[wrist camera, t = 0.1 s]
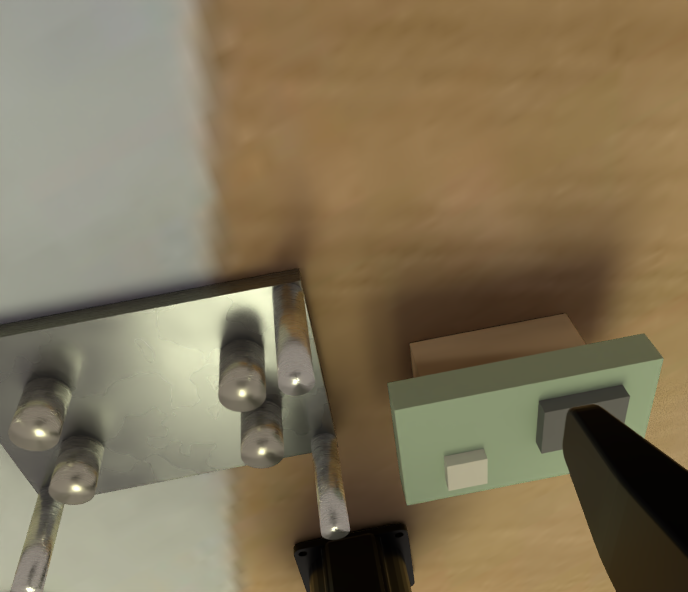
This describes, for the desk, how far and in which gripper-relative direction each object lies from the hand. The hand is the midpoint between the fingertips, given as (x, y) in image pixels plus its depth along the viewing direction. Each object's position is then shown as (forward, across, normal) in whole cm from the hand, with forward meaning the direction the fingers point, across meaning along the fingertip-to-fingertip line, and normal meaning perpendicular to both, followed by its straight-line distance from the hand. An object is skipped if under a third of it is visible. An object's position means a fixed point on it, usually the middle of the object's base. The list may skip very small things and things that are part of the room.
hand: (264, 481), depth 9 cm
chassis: (+15, +6, +12) cm, 20 cm away
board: (+11, -8, +13) cm, 19 cm away
